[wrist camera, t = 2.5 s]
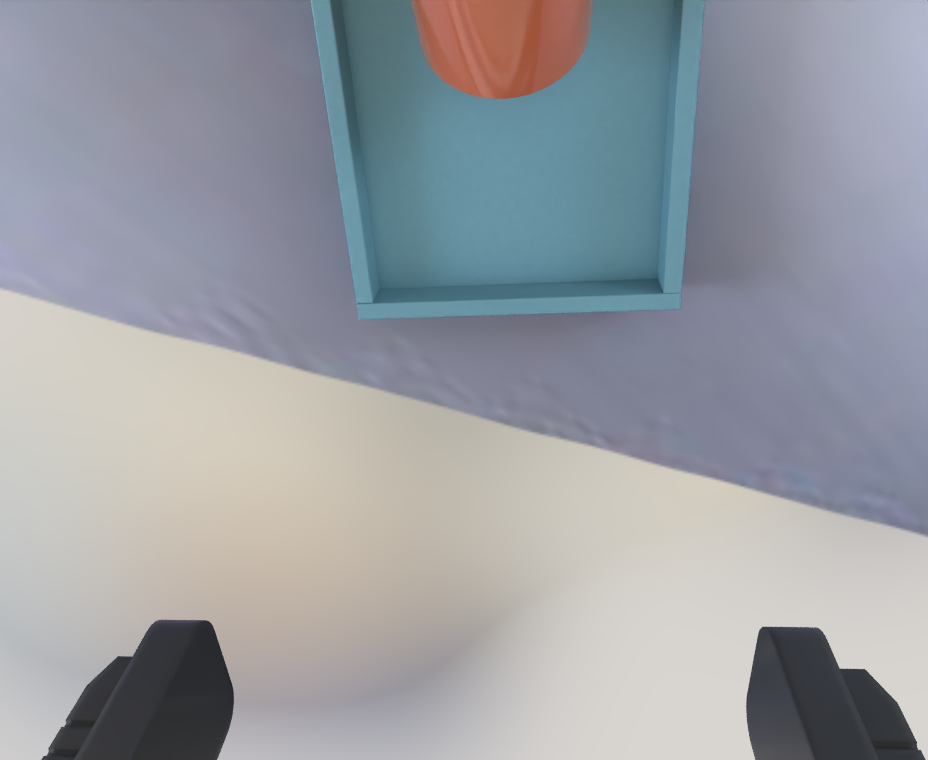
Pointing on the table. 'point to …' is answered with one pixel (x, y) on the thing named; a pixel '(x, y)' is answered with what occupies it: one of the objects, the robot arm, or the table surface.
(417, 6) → the orange cylinder
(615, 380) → the table surface
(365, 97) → the tray
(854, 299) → the table surface
